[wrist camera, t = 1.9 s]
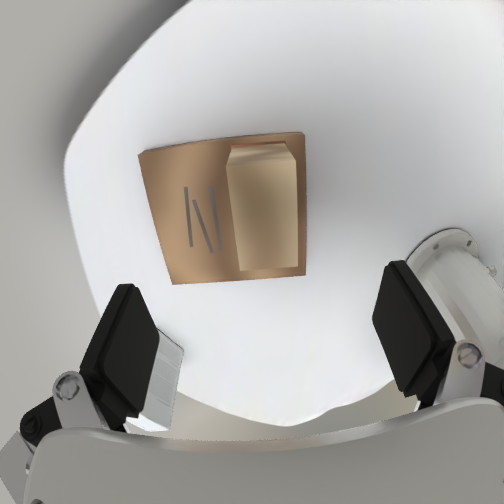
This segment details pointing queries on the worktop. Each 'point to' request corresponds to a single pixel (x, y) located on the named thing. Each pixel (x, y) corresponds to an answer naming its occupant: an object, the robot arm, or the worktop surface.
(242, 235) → the block
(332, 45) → the worktop surface
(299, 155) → the brown flat square slab
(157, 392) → the skincare box
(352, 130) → the worktop surface
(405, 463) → the robot arm
